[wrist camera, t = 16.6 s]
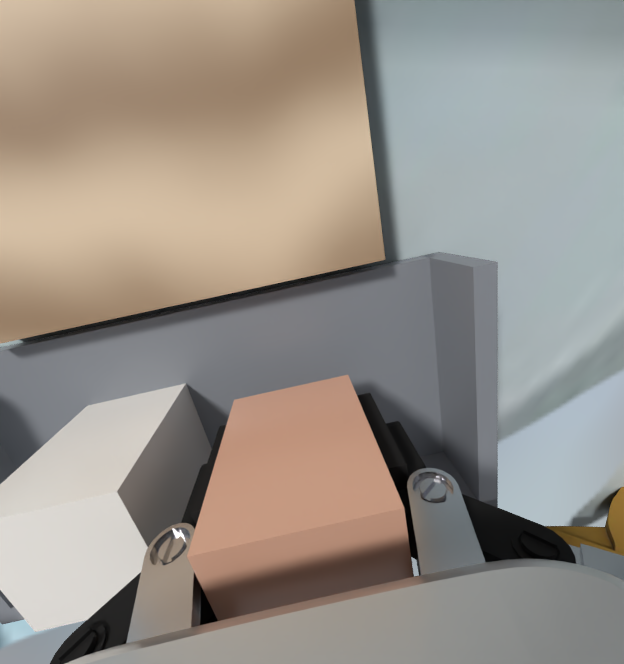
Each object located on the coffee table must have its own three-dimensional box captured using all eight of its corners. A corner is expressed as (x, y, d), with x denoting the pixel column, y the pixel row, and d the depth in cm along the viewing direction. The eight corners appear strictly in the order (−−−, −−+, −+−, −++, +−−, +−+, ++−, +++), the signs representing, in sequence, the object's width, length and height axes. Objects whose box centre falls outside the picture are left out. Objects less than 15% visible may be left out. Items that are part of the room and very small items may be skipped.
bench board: (-252, -126, 9) (-401, -224, 7) (305, -237, 9) (310, -363, 7) (9, 333, 13) (-37, 351, 11) (371, 255, 13) (385, 259, 12)
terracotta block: (234, 399, 12) (186, 556, 6) (348, 374, 12) (404, 507, 6) (263, 488, 13) (246, 680, 8) (364, 465, 13) (421, 639, 8)
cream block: (87, 405, 14) (-51, 529, 8) (185, 383, 14) (116, 491, 8) (128, 482, 15) (35, 631, 10) (216, 461, 15) (176, 599, 10)
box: (-53, 359, 13) (-185, 410, 10) (439, 252, 14) (497, 261, 10) (64, 536, 17) (1, 624, 13) (451, 449, 17) (497, 511, 14)
